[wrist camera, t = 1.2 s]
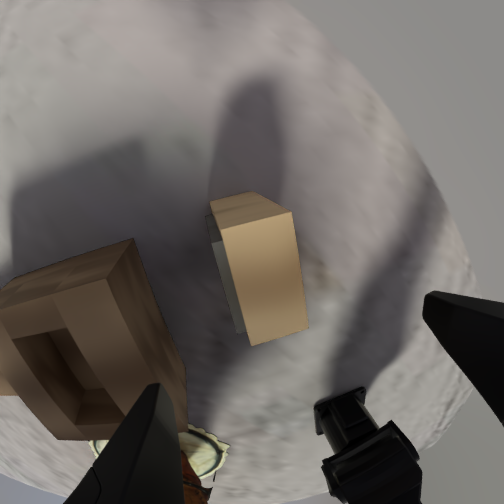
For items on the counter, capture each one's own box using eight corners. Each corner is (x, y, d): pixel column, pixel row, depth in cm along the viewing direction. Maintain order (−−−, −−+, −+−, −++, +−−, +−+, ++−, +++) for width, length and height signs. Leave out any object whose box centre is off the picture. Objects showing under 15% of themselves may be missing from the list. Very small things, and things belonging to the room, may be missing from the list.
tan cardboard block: (268, 270, 21) (308, 328, 14) (223, 282, 21) (241, 349, 13) (252, 190, 19) (291, 212, 12) (202, 203, 19) (208, 233, 11)
